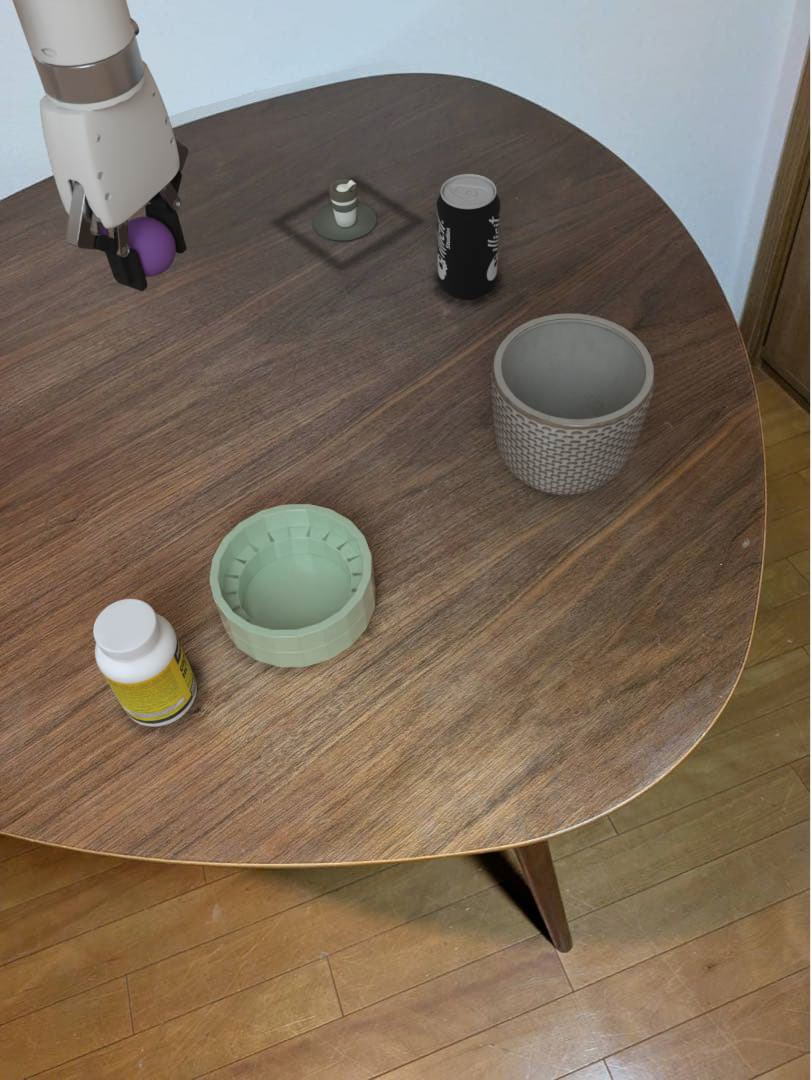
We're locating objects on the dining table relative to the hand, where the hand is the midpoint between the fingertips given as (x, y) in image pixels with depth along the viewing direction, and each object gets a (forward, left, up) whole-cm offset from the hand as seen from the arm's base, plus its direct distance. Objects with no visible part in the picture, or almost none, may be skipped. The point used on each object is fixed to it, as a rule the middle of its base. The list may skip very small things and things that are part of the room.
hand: (151, 264), depth 87 cm
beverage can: (+29, +17, -18) cm, 38 cm away
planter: (+37, -10, -18) cm, 42 cm away
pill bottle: (+2, -33, -18) cm, 38 cm away
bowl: (+13, -25, -17) cm, 33 cm away
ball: (0, 0, -1) cm, 1 cm away
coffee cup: (+15, +29, -18) cm, 37 cm away
